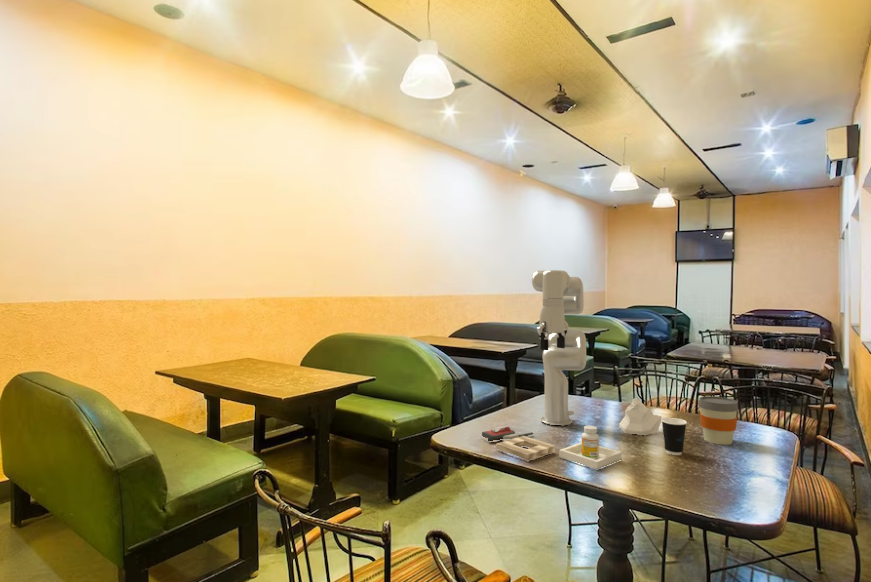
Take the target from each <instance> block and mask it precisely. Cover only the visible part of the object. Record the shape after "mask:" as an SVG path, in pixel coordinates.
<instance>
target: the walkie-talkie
mask: <svg viewBox="0 0 871 582" xmlns="http://www.w3.org/2000/svg"><path fill="white" fill-rule="evenodd" d="M532 435H534V433H533V432H528V433H527V432H525V433H522V434H518V433H516V431H515V430H513V429H511V428H510V426H507V425H501V426H497V427H495V429H494V428H491V429H490V430H486V431H482V432H481V437H482V436H483V437H485V438H488V441H493V440H500V439H514V438H518V437H521V436H526V437H528V436H532Z"/></svg>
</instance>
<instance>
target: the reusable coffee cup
mask: <svg viewBox="0 0 871 582" xmlns="http://www.w3.org/2000/svg"><path fill="white" fill-rule="evenodd" d="M698 407H699V411H700V412H699V414H698V415H699V420H700V421H699V422H700V426H701V427H702V433H703V439H704V441H705V442H708V443H710V442H711V444H715V445H716V444H717V445H731V444H733V441H734V440H733V439H734V433H735V431H736V428H737V423H738V416H737V412H738V411H739V405H738V401H737V400H735V399H733V398H728V397H722V396H714V395H713V396H712V395H711V396H705V395H704V396H700V397H699V400H698Z"/></svg>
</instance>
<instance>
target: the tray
mask: <svg viewBox="0 0 871 582" xmlns="http://www.w3.org/2000/svg"><path fill="white" fill-rule="evenodd" d="M558 453H559V454H558V458H559V457H562V458H565V459H568V460H571V461H574V462H577V463H580V464H583V465H585V466H588V467H591V468H595V469H599V468H601V467H604V466H607V465H609V464H612V463H614V462H617V461H619V460H622V459H623V458H622V457H623V456H622V455H623V454H622V453H623V452H622V451H619V450H615V449H611V448H608V447H605V446H602V445H599V457H598V458H597V459H591V458H588V457H585V456H582V441H581V442H579V443H576V444H573V445H570V446H568V447H567V446H565V448H561V449H559V451H558Z"/></svg>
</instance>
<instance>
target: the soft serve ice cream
mask: <svg viewBox="0 0 871 582" xmlns="http://www.w3.org/2000/svg"><path fill="white" fill-rule="evenodd" d="M624 413H625V415H624V416H623V419H621V421H620V422H619V424H618V426H619V429H620V428H621V429H622V430H623V431H624V432H625V433H630V434H629V435H632V434H637V435H636V436H642V435H644V436H647V435H654V434H655V433H656V434H658V431H659V429H660V427H661V424H662V421H661V419H662V415H657V414H654V412H653V410H651V409H650V408H649V407H646V406H645V404H644V403H642V402H641V401H640V400H639V398H637V397H634V398H633V399H632V401H631V404H630V405H628V406H627V407H626V409H625V410H624ZM621 429H620V430H621ZM622 430H621V431H622ZM623 431H622V432H623ZM624 432H623V433H624ZM625 433H624V434H625Z"/></svg>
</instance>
